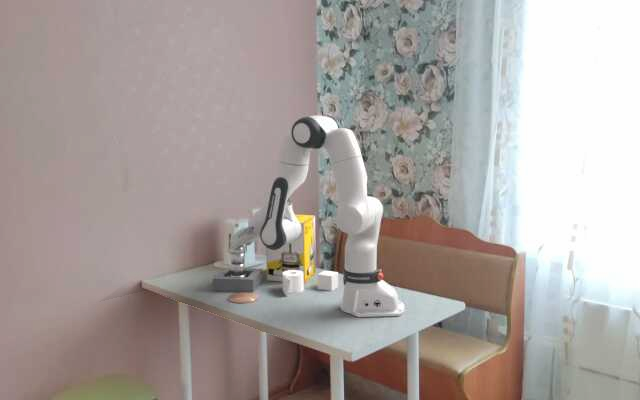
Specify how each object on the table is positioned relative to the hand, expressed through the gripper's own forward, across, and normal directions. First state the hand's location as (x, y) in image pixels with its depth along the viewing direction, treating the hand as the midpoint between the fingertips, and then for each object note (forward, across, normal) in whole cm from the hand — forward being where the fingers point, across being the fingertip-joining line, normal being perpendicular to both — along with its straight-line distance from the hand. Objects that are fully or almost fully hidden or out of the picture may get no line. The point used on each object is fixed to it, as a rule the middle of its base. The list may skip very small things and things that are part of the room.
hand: (240, 246), depth 225 cm
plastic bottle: (+12, 0, -11) cm, 16 cm away
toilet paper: (-4, +3, -26) cm, 27 cm away
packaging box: (+4, +21, -19) cm, 29 cm away
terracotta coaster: (+4, -12, -18) cm, 22 cm away
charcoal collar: (+12, 0, -11) cm, 16 cm away
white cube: (-11, +14, -34) cm, 38 cm away
